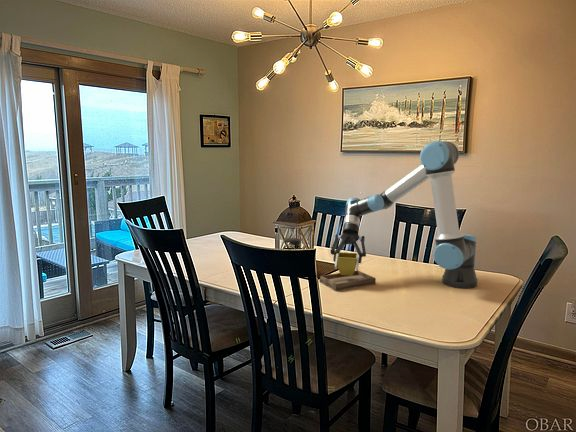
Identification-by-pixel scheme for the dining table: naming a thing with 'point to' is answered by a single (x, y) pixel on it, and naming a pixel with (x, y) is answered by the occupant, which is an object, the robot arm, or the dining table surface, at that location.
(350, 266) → the flower pot
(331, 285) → the walnut tray
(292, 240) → the french press
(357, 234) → the robot arm
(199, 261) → the dining table surface
